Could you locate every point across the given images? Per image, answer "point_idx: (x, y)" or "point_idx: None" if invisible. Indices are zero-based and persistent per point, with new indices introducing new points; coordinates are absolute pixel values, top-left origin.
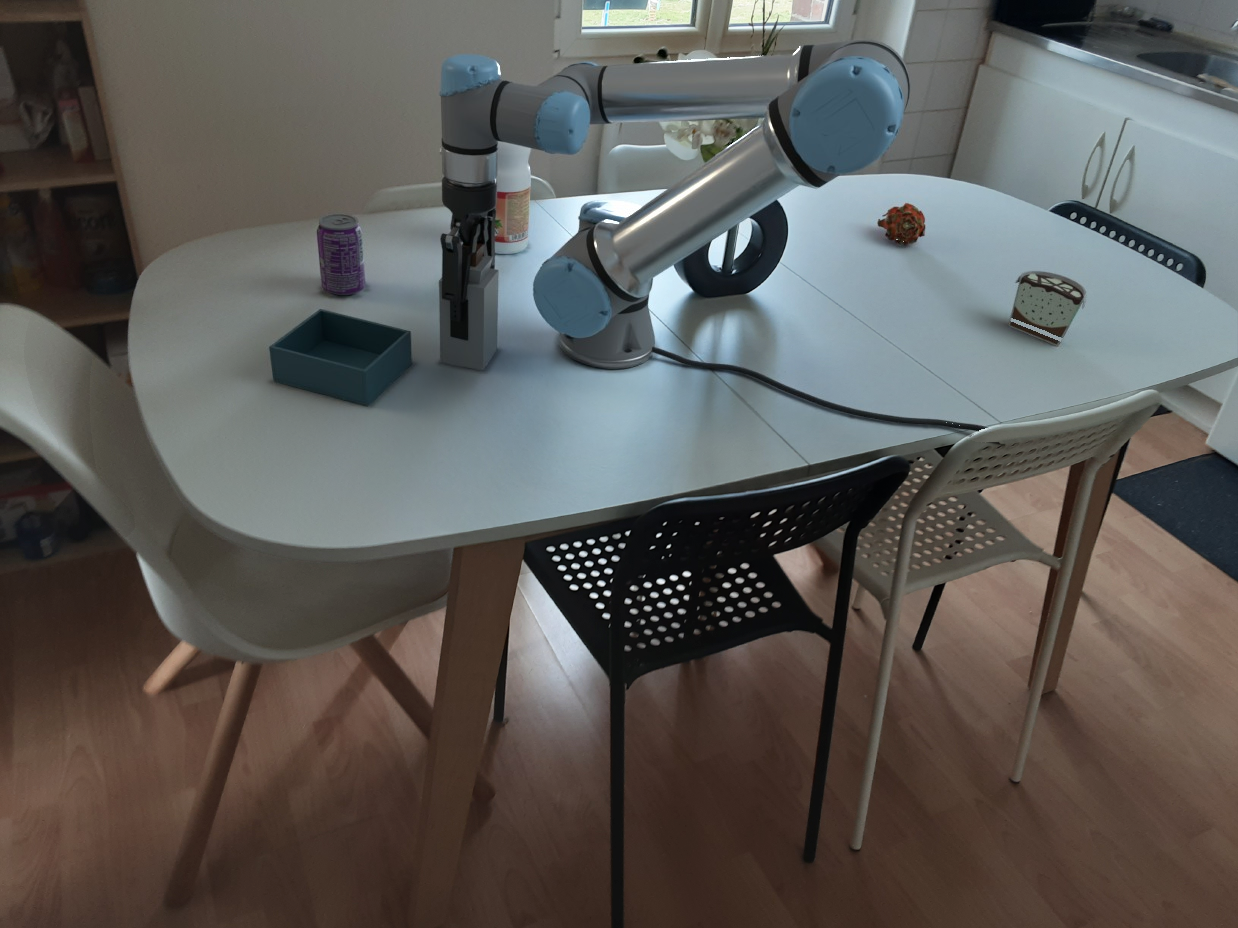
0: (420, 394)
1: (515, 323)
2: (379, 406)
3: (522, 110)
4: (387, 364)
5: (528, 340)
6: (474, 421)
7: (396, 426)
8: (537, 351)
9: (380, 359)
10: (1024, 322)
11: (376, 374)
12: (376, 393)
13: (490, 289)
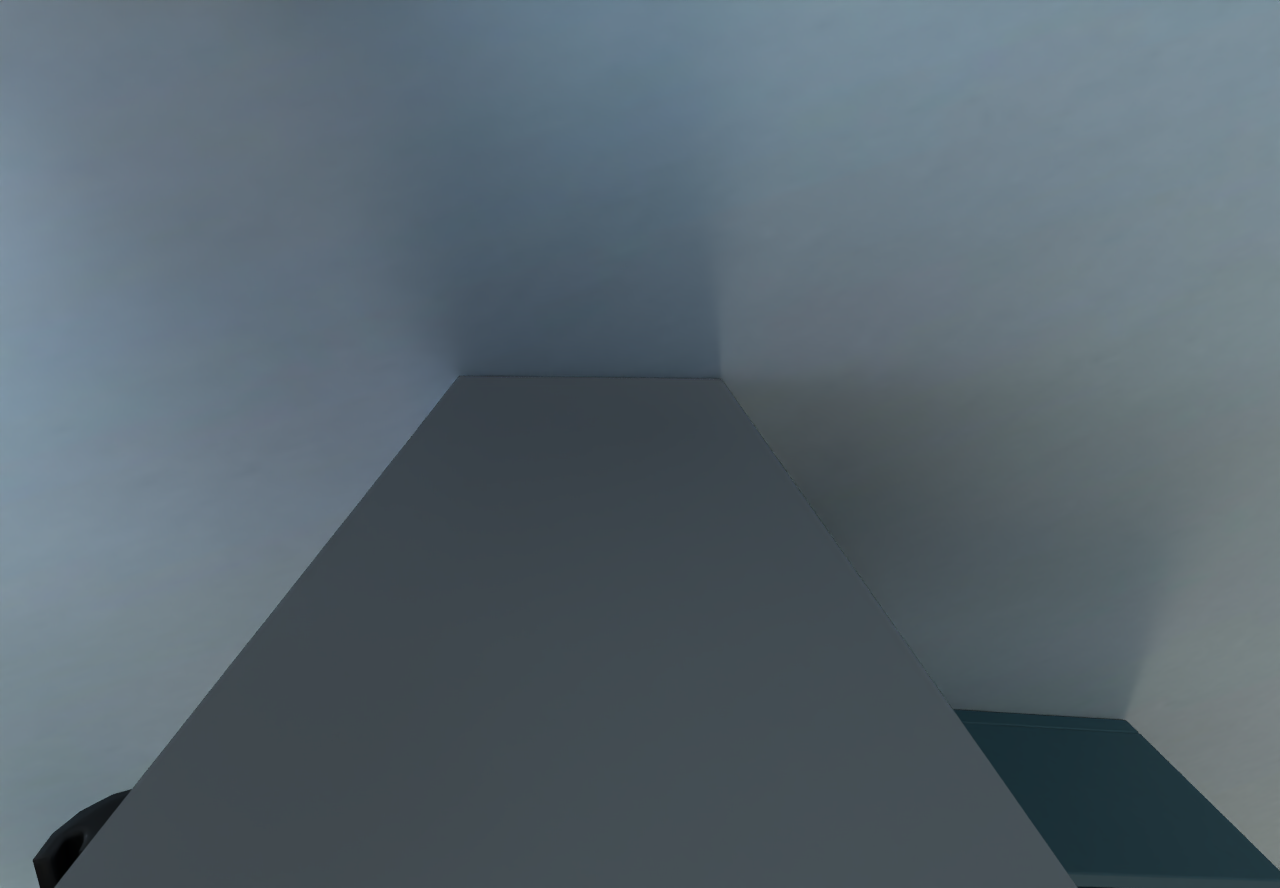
0: (1007, 580)
1: (60, 366)
2: (1120, 685)
3: None
4: (1035, 806)
5: (232, 216)
6: (1238, 265)
7: (1272, 578)
8: (348, 109)
9: (1146, 870)
10: None
11: (1139, 812)
12: (1075, 732)
13: (628, 747)
